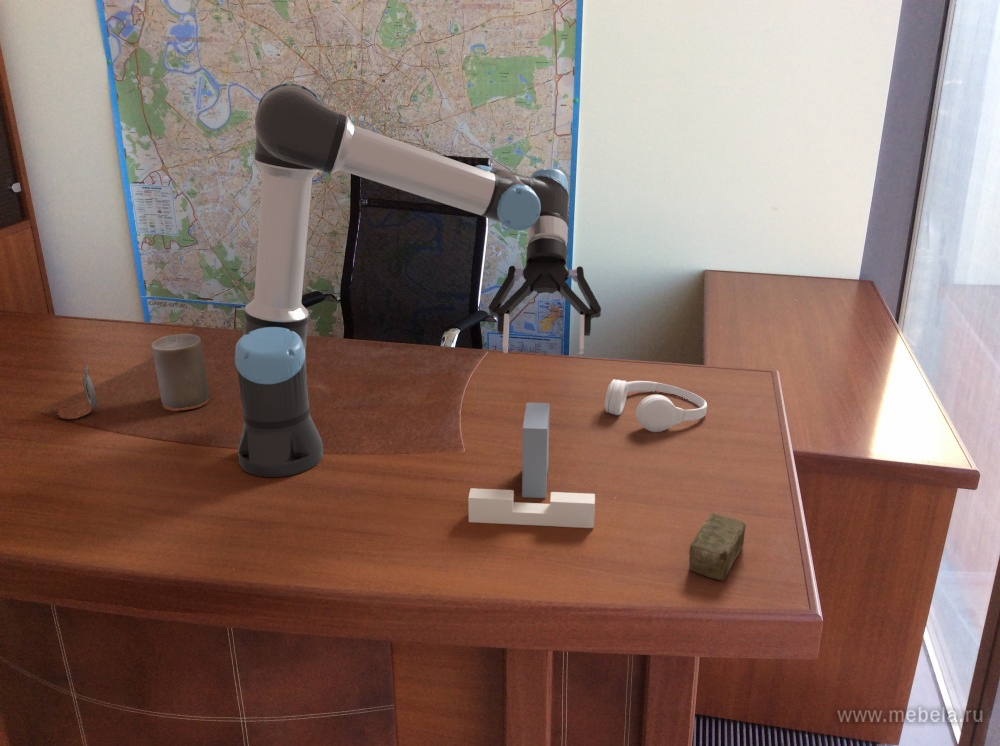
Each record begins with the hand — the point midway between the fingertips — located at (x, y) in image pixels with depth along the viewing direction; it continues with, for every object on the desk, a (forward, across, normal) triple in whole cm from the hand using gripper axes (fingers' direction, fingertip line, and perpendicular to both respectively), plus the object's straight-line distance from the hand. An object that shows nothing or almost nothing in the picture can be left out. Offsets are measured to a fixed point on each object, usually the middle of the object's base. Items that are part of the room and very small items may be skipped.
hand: (543, 350), depth 154 cm
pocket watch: (+8, +95, -19) cm, 97 cm away
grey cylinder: (+3, +76, -24) cm, 79 cm away
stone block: (+37, -27, +8) cm, 47 cm away
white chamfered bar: (+31, +1, +3) cm, 31 cm away
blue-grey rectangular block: (+23, +1, -6) cm, 23 cm away
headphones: (+1, -22, -28) cm, 36 cm away
